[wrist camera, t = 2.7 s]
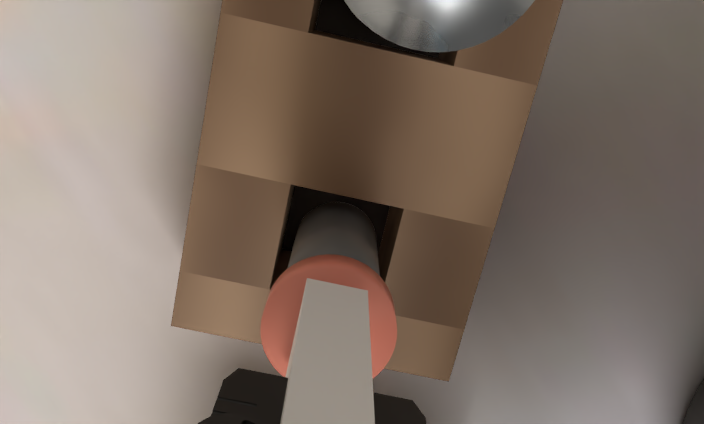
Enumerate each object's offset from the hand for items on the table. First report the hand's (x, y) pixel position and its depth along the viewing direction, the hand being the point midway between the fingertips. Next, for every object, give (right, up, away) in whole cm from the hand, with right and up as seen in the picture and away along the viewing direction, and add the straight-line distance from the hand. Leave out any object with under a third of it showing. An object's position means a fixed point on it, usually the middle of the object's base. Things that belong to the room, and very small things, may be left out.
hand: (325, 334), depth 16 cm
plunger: (0, +2, +7) cm, 7 cm away
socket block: (+1, +8, +8) cm, 11 cm away
